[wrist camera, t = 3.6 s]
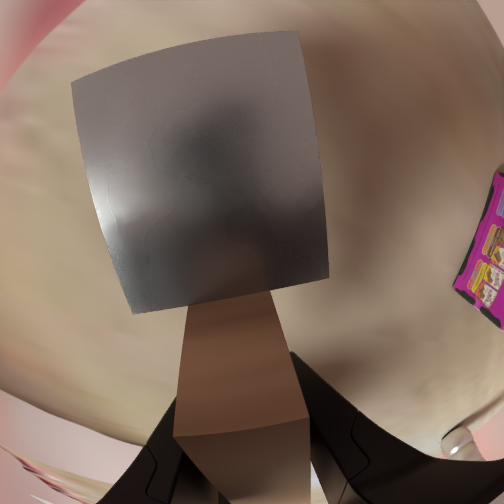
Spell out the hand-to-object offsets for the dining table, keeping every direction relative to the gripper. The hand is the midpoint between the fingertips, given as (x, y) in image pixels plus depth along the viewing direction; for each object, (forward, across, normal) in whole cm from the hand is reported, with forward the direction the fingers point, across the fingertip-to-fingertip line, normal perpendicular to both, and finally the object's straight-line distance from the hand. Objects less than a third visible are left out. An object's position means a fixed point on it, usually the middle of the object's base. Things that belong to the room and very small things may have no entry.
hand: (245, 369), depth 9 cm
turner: (+1, 0, -1) cm, 1 cm away
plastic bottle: (+9, -32, +44) cm, 55 cm away
